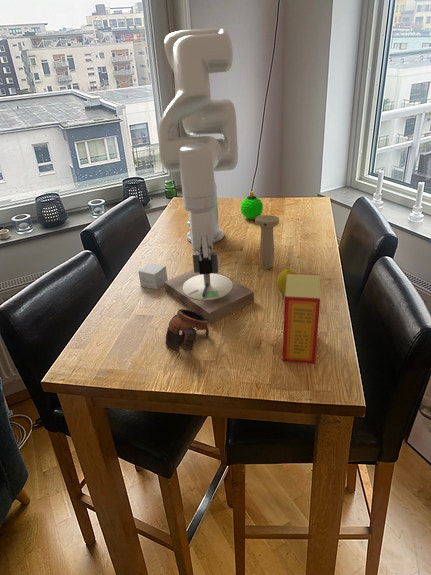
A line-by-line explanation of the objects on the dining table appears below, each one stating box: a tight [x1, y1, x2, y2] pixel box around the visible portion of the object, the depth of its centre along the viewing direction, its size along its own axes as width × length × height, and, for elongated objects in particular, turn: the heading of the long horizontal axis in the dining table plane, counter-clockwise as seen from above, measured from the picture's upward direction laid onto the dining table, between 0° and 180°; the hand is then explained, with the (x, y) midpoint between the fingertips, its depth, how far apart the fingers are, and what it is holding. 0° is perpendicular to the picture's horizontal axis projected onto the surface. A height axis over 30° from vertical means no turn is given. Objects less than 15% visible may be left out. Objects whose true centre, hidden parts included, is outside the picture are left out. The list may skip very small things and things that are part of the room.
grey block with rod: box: [192, 251, 219, 297], centre depth 104 cm, size 6×7×9 cm
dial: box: [183, 274, 233, 300], centre depth 109 cm, size 13×13×1 cm
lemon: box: [276, 268, 297, 296], centre depth 106 cm, size 6×6×8 cm
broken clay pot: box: [164, 308, 210, 353], centre depth 93 cm, size 12×10×8 cm
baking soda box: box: [282, 272, 321, 364], centre depth 87 cm, size 10×6×16 cm
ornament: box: [240, 190, 264, 220], centre depth 152 cm, size 8×8×10 cm
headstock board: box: [164, 269, 255, 324], centre depth 110 cm, size 20×14×3 cm
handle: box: [254, 214, 280, 270], centre depth 118 cm, size 5×6×15 cm
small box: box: [137, 262, 169, 291], centre depth 117 cm, size 6×6×5 cm
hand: (205, 269), depth 107 cm, fingers closed on grey block with rod, 2 cm apart
